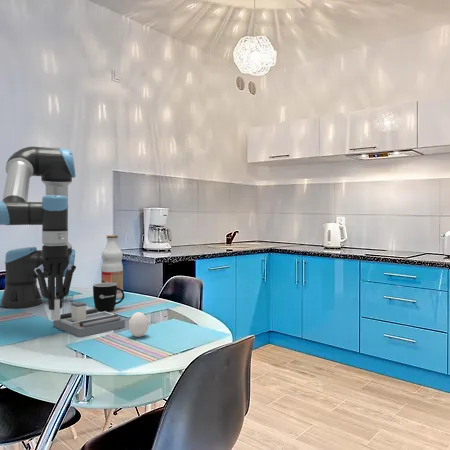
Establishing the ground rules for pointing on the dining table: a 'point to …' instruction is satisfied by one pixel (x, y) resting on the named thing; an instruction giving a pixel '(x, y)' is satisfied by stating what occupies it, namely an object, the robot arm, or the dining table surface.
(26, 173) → the robot arm
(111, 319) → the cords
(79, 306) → the light grey boxy piece
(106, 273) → the fruit juice
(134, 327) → the egg
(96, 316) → the grey compartment tray
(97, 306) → the mug
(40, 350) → the dining table surface
